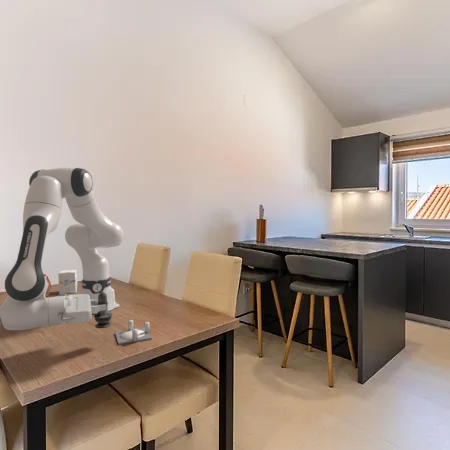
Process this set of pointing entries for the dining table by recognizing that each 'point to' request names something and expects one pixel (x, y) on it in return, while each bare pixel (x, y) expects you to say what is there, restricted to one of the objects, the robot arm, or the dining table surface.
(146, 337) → the pin socket board
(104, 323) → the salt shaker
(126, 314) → the dining table surface
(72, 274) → the ink box
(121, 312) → the dining table surface
